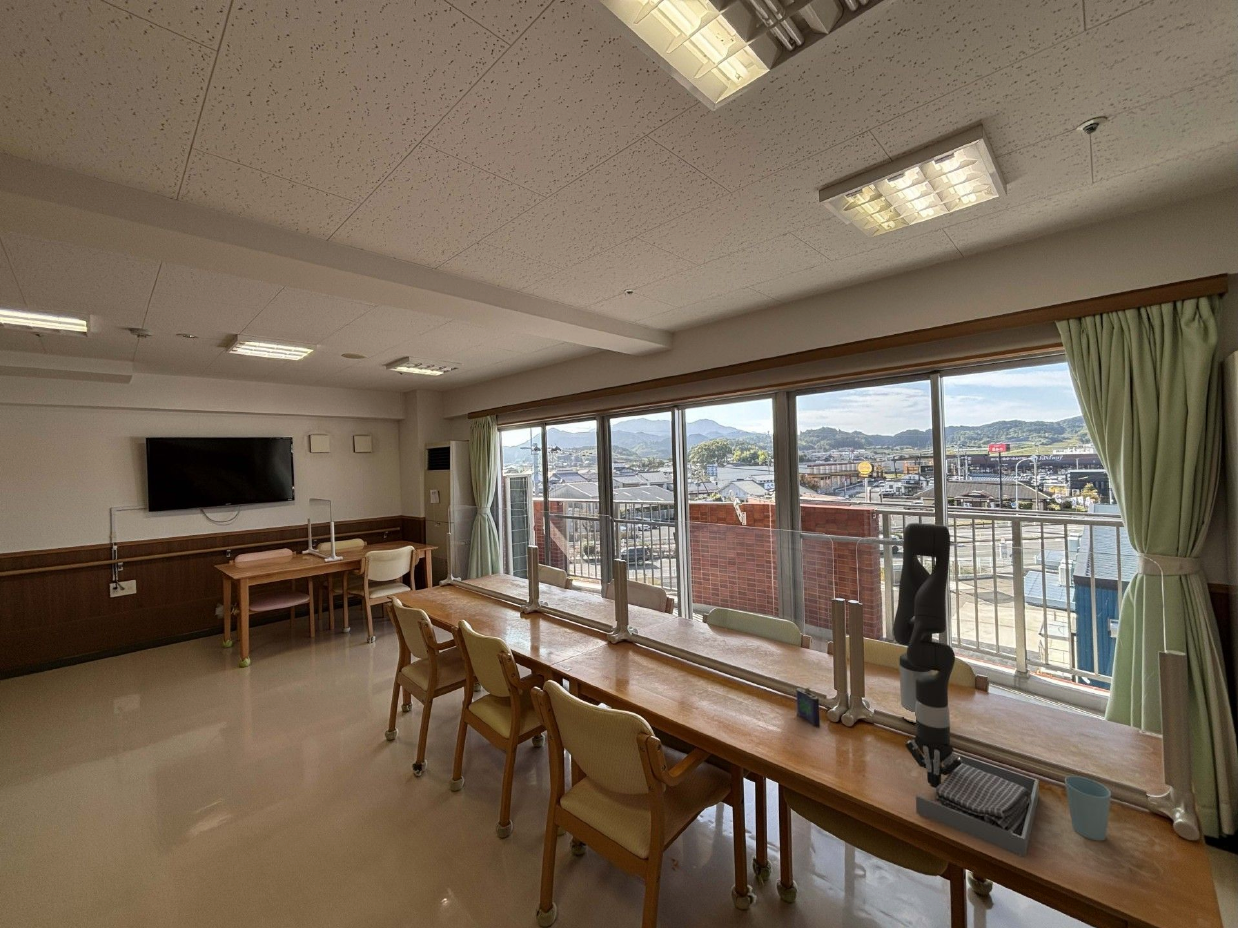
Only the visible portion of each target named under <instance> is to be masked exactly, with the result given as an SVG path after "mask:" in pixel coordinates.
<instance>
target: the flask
mask: <svg viewBox="0 0 1238 928" xmlns="http://www.w3.org/2000/svg"><path fill="white" fill-rule="evenodd" d="M810 689H811V687H804V688H800V687H798V688H796V690H795V691H796V692H795V694H796V697H795V698H796V715H797V717H798V718H801V719H802V720H803V721H805V722H808V723H809V724H810V725H812V726H813V727H818V728H819V727H820V726H821V722H820V721H821V720H820V703H819V701H820V700H819V697H818V696H816V694H814V693H812V691H811V690H810Z"/></svg>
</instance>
